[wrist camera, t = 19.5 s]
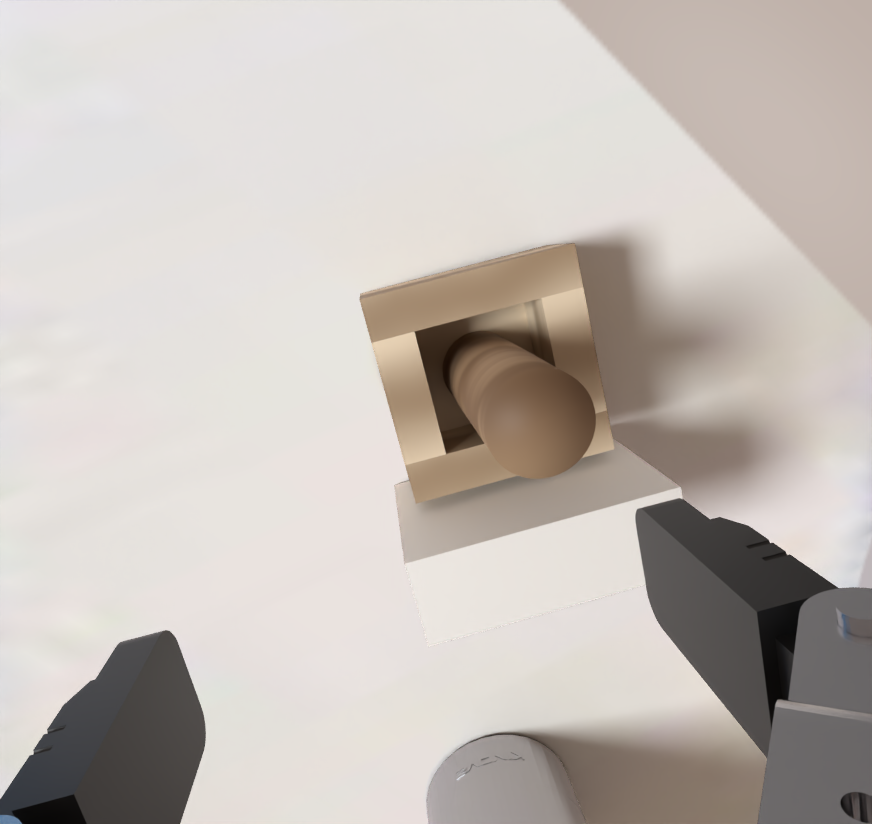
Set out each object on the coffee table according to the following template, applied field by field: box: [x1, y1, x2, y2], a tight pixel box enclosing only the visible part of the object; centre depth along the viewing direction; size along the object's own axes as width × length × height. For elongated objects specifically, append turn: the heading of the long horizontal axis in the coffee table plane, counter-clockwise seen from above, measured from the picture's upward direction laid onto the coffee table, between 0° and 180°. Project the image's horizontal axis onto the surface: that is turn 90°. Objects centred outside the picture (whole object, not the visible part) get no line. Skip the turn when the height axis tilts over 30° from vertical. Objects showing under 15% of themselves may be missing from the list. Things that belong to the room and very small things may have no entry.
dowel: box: [443, 331, 596, 479], centre depth 29 cm, size 4×4×12 cm
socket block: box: [360, 243, 614, 504], centre depth 34 cm, size 10×10×5 cm
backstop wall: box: [394, 438, 683, 647], centre depth 33 cm, size 4×12×10 cm, turn 104°
